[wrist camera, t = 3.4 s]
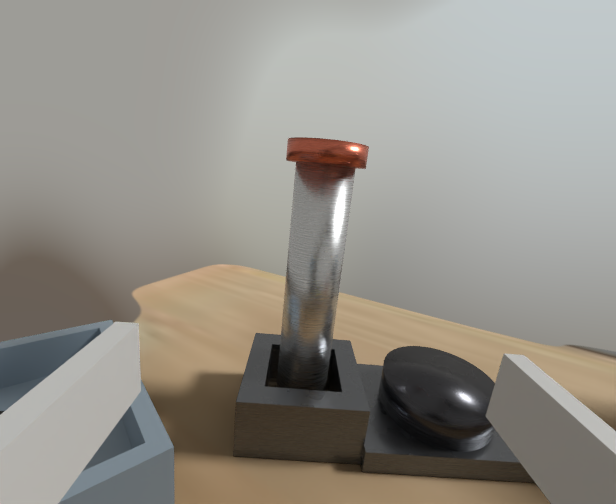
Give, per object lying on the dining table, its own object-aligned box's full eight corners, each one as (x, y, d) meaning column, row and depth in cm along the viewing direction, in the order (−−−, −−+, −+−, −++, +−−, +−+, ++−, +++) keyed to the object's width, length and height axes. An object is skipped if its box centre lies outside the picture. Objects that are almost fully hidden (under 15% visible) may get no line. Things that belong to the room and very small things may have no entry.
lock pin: (302, 382, 26) (328, 148, 22) (343, 418, 23) (385, 149, 18) (253, 406, 23) (272, 138, 19) (293, 451, 20) (327, 136, 15)
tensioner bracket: (473, 387, 28) (483, 348, 27) (549, 483, 20) (569, 432, 19) (253, 370, 27) (256, 330, 26) (231, 463, 19) (234, 408, 18)
